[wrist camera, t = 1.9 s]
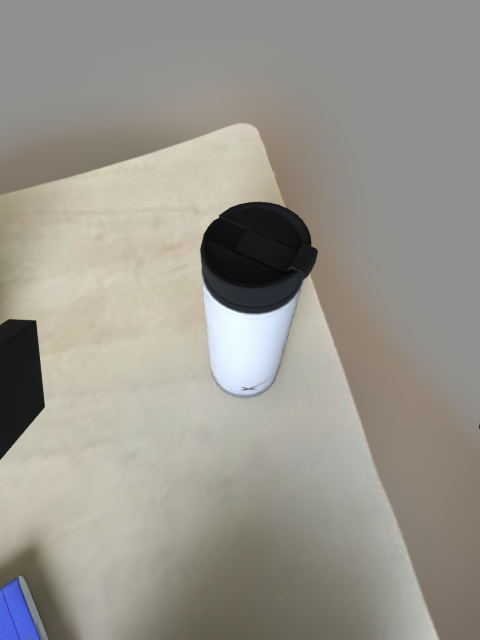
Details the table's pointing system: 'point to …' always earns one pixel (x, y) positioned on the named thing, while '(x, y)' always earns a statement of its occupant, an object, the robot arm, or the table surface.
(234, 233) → the travel mug
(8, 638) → the hard drive
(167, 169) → the table surface
